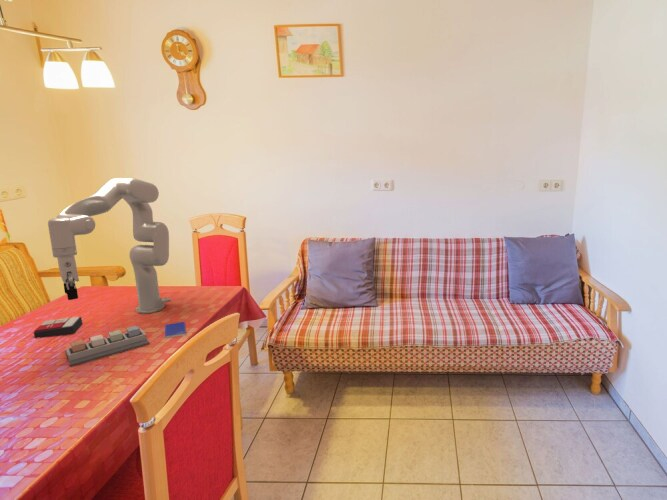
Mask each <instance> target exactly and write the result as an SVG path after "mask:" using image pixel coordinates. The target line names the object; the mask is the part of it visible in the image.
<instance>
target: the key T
mask: <svg viewBox="0 0 667 500" xmlns="http://www.w3.org/2000/svg"><path fill="white" fill-rule="evenodd" d="M125 328H126V332H127V334H128V336H129V337H132V336H136V335H139V334H140V329H141V328H140V327H139V326H138V324H137V325H133V326H130V327H125Z"/></svg>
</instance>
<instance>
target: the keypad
mask: <svg viewBox="0 0 667 500" xmlns="http://www.w3.org/2000/svg"><path fill="white" fill-rule="evenodd" d="M139 329H140V334H139V335H136V336H132V337H129V336H128V334H127V331H126V332H124V333H123V332H122V337H123V339H121V340H117V341H114V342H111V340H110V338H109V336H107V337H105V338H104V337H103V338H104V343H105V344H102V345H99V346H95V347H93V346H92V344H91V341H88V342H84V344H85V349H84V350H80V351H77V352H73V351H72V348H71V346H69V347H66V348H65V350H64V352H65V355H66V359H67V360H68V362H69V365H70V366H69V367H74V366H77V365H82V364H85V363H88V362H92V361H96V360H99V359H102V358H105V357H106V358H107V357H109V356H113V355H117V354H119V353H122V352H127V351H130V350H134V349H137V348H140V347H144V346H148V345H150V341H149V340H148V339H147V334H146V333H145V332H144V330H143V329H142V328H139ZM116 353H117V354H116ZM112 354H113V355H112Z"/></svg>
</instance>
